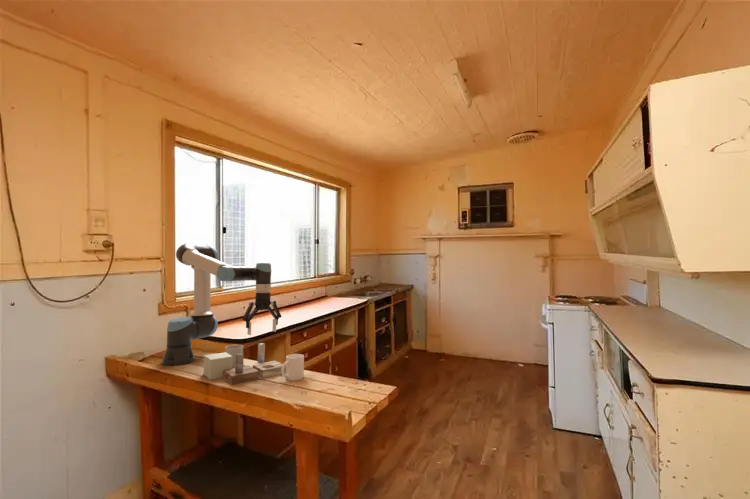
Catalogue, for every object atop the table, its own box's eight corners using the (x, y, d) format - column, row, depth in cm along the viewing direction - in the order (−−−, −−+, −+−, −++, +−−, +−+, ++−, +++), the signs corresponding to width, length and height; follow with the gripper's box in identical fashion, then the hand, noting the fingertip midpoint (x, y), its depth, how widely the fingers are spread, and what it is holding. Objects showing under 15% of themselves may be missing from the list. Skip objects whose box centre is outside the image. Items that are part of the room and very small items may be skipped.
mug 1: (231, 369, 174) (232, 349, 174) (219, 366, 178) (220, 346, 179) (249, 364, 183) (249, 345, 184) (237, 361, 188) (238, 343, 188)
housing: (203, 374, 165) (204, 355, 165) (224, 370, 172) (225, 352, 172) (209, 379, 158) (210, 359, 158) (232, 375, 164) (232, 356, 165)
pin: (256, 367, 178) (257, 343, 179) (262, 365, 180) (263, 342, 181) (259, 368, 175) (259, 344, 176) (265, 367, 178) (266, 343, 178)
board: (223, 377, 160) (224, 352, 161) (248, 372, 168) (249, 349, 169) (232, 384, 152) (233, 358, 152) (258, 378, 160) (259, 353, 160)
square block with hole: (252, 371, 170) (252, 364, 170) (275, 367, 178) (275, 360, 178) (262, 377, 161) (263, 370, 161) (286, 372, 169) (286, 365, 169)
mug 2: (286, 384, 153) (287, 361, 153) (275, 380, 158) (275, 357, 158) (307, 377, 162) (307, 355, 163) (295, 374, 167) (296, 352, 168)
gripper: (242, 293, 169) (240, 337, 167) (288, 291, 185) (287, 331, 184) (236, 292, 174) (235, 334, 173) (281, 290, 191) (280, 329, 190)
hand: (262, 333), depth 179 cm, fingers open, 13 cm apart
